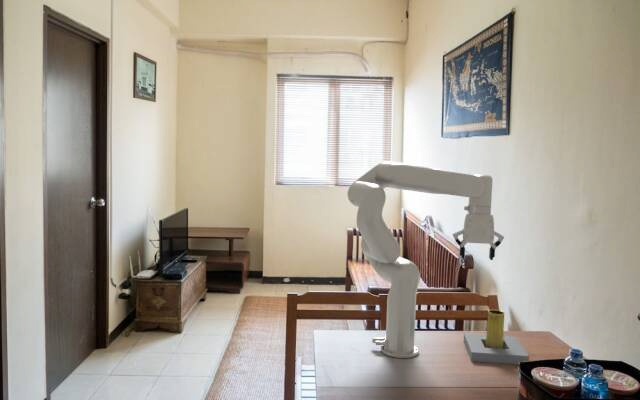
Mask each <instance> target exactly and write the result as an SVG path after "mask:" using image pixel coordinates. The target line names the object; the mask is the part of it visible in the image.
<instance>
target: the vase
mask: <svg viewBox="0 0 640 400" xmlns="http://www.w3.org/2000/svg"><path fill="white" fill-rule="evenodd" d="M504 326H505V312H504V311H502V310H501V309H500V310H499V309H489V310H488V311H487V324H486V334H485V335H486V344H485V348H498V349H503V336H505V335H504V333H505V332H504V328H505V327H504Z"/></svg>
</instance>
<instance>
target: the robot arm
mask: <svg viewBox="0 0 640 400" xmlns="http://www.w3.org/2000/svg"><path fill="white" fill-rule="evenodd" d="M386 188H391V189H396V190H397V189H398V190H403V191H412V192H419V193H426V194H433V195H435V194H436V195H449V196H457V197H463V198H468V205H466V206H464V207H463V209H464V211H467V212H466V214H465V218H464V221H463V222H464V223H463V229H460V230H458V231H456V232H454V233H452V237H453V238H454V240H455V243H456V244H457V245H458V246H459V256H460V257H461V259H463V260H464V259H465V257H466V256H465V255H466V254H465V253H466V247H465V245H466V244H467V243H469V244H483V245H484V244H486V245H487V244H489V245H490V247H489V251H488V252H489V253H488V254H489V256H488V257H489V260H491V261H493V260H494V258H495V256H496V255H495V254H496V249H497V248H498V247H499V246H500V245H501V244H502V242H503V241H504V240H505V239H504V238H505V236H503V235H502V234H500V233H499V232H496V231H495V221H494V220H495V219H494V215H493V214H491V213H492V199H493V197H492V196H493V195H492V194H493V177H492V176H491V175H488V174H469V173H468V174H467V173H462V172H456V171H455V172H454V171H449V170H444V169H439V168H437V167H436V168H435V167H430V166H423V165H417V164H410V163H404V162H398V161H397V162H396V161H383V162H380V163H378V164H376V165H375V166H373V167H372V168H371V169H369V170H368V171H367V172H366V173H364V174H363V175H361V176H360V177H359V178H358V179H356V180H355V181H353V182H352V183H351V184H350V186H349V187H348V190H347V199H348V201H349V202H350V203H351V205H353V206H355V207H357V208H358V209H357V211H356V227H357V230H358V231H359V234H360V235H361V236H362V237H361V242H360V249H361V252H362V254H363V255H364V257H365V258H366V259H367V261H368V263H369V264H370V266H371V267H372V268H373V269H374V271H375V273H376V274H377V275H378V277H379V278H380V279H383V280H384V281H386V282H388V283H389V284H391V285H390V288H389V290H388V294H387V298H386V299H387V300H386V320H385V321H386V325H385V326H386V327H385V334H384V336H381V337H375V336H373V337H372V339H371V342H372V344H375V345H376V346H380V351H381V353H383V354H384V355H386V356H388V357H392V358H395V359H396V358H397V359H410V358H414V357H416V356H418V355H419V352H420V351H419V348H418V347H417V346H416V345H415V333H416V332H415V330H416V312H417V311H416V309H417V295H418V288H419V285H420V284H419V283H420V280H421V273H420V272H421V271H420V270H419V268H418V266H417V265H416V264H415V263H414V262H413V261H412V260H409V259H406V258H405V257H401V247H400V244H399V241H398V240H397V239H396V237H395V236H394V234H393V233H392V232H391V230H390V228H388V226H387V224H386V222H385V221H384V218H383V210H384V206H385V204H386V198H387V197H386V192H385V190H384V189H386ZM461 235H462V240H460V238H459V236H461ZM495 237H497V240H496V241H494V240H495Z"/></svg>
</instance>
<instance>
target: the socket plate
mask: <svg viewBox="0 0 640 400" xmlns="http://www.w3.org/2000/svg"><path fill="white" fill-rule="evenodd" d="M486 335H487V334H482V333H481V334H480V333H479V334H478V333H463V343H464V346H465V348H466V349H465V350H466V351H467V354H468V357H469V359H470V362H478V363H492V364H493V363H494V364H509V365H519V364H518V363H519V362H523V361H530V355H529V354H528V352H527V350H526V349H525V348H524V346H523V345H522V343H521V342H520V341H519V339H518V338H517V336H511V335H510V336H509V335H504V336H503V349H498V348H485V344H486Z"/></svg>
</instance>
